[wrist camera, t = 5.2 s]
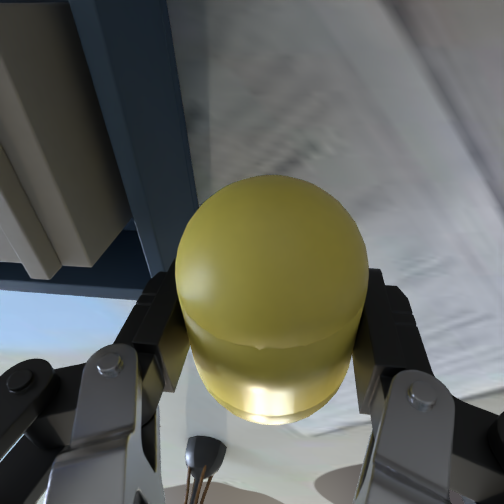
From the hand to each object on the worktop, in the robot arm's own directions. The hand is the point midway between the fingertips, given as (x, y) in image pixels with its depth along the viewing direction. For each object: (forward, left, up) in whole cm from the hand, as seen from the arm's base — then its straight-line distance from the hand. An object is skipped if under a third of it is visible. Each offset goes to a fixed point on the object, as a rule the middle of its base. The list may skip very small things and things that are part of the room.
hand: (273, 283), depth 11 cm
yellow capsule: (0, 0, -1) cm, 1 cm away
